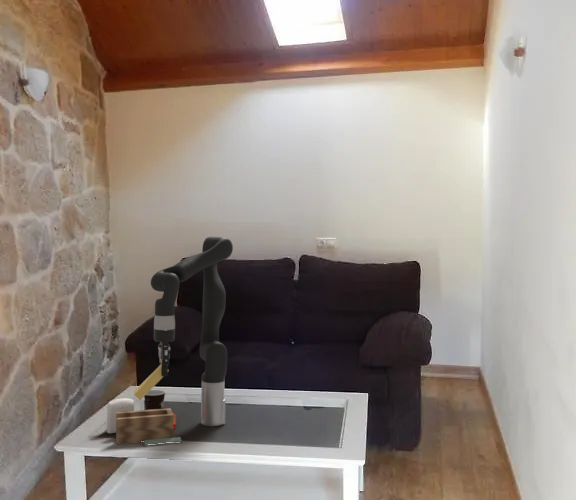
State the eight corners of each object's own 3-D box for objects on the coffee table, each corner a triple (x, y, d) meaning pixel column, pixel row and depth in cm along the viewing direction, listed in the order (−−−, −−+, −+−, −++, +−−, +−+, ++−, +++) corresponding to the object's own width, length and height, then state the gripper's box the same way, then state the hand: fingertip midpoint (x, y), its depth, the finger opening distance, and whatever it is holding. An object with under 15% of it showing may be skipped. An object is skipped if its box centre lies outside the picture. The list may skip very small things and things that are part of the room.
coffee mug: (155, 412, 244) (155, 388, 244) (169, 415, 239) (169, 392, 239) (133, 418, 235) (133, 394, 235) (147, 422, 230) (147, 398, 230)
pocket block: (170, 431, 220) (170, 408, 220) (173, 439, 211) (173, 415, 211) (116, 436, 213) (116, 412, 213) (116, 444, 205) (117, 419, 205)
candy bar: (176, 430, 222) (176, 423, 222) (166, 431, 221) (166, 423, 221) (175, 417, 238) (176, 410, 238) (166, 418, 237) (167, 411, 237)
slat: (167, 368, 210) (161, 363, 209) (168, 371, 206) (162, 365, 205) (139, 397, 207) (133, 391, 206) (140, 400, 203) (134, 394, 202)
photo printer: (131, 427, 224) (132, 395, 224) (135, 430, 221) (135, 398, 220) (105, 431, 218) (105, 399, 218) (108, 434, 215) (108, 402, 215)
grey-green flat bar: (180, 439, 211) (180, 437, 211) (181, 442, 208) (181, 440, 208) (144, 442, 207) (144, 440, 207) (144, 446, 204) (144, 443, 204)
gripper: (152, 324, 213) (151, 370, 213) (155, 330, 199) (155, 379, 199) (172, 324, 215) (172, 369, 215) (177, 330, 201) (176, 378, 202)
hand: (163, 374), depth 207 cm, fingers closed on slat, 4 cm apart
